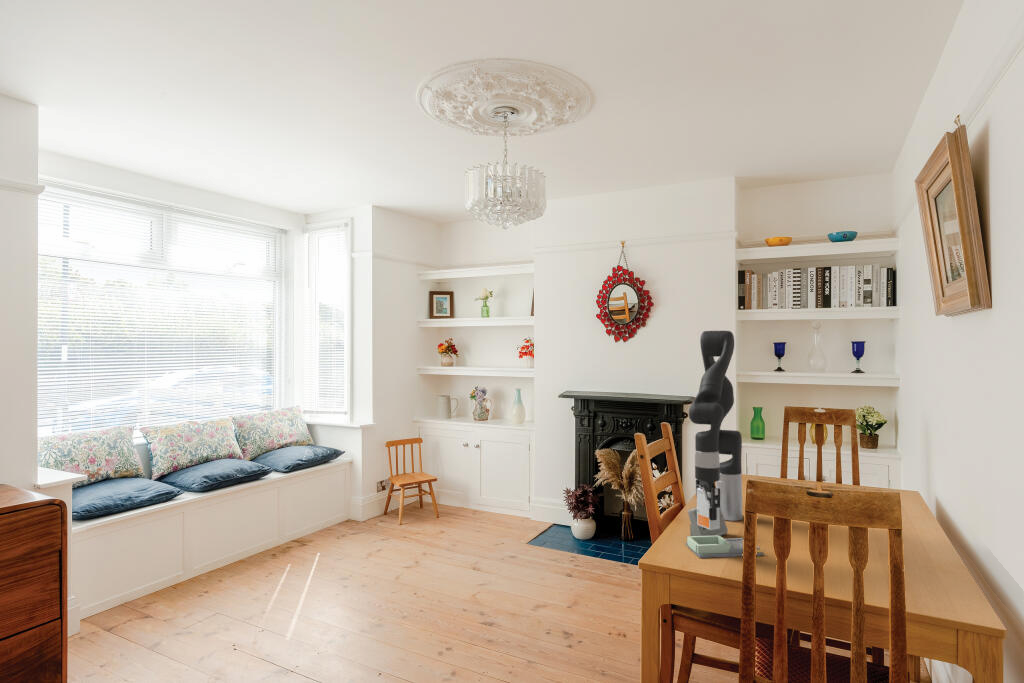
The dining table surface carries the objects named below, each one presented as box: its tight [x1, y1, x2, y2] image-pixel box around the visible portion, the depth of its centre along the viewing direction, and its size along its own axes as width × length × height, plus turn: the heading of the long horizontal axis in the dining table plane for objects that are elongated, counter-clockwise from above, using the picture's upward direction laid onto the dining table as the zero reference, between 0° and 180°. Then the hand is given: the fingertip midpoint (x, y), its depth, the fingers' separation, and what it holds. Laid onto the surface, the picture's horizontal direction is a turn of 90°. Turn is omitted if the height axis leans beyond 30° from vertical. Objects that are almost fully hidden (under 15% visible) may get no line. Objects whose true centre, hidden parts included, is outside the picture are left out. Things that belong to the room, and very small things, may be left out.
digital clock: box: [687, 506, 729, 537], centre depth 199 cm, size 16×9×11 cm, turn 114°
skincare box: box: [696, 488, 720, 530], centre depth 185 cm, size 6×4×12 cm
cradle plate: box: [727, 540, 743, 548], centre depth 186 cm, size 7×7×1 cm
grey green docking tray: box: [685, 535, 765, 559], centre depth 185 cm, size 12×21×3 cm, turn 94°
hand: (708, 516), depth 185 cm, fingers closed on skincare box, 7 cm apart
